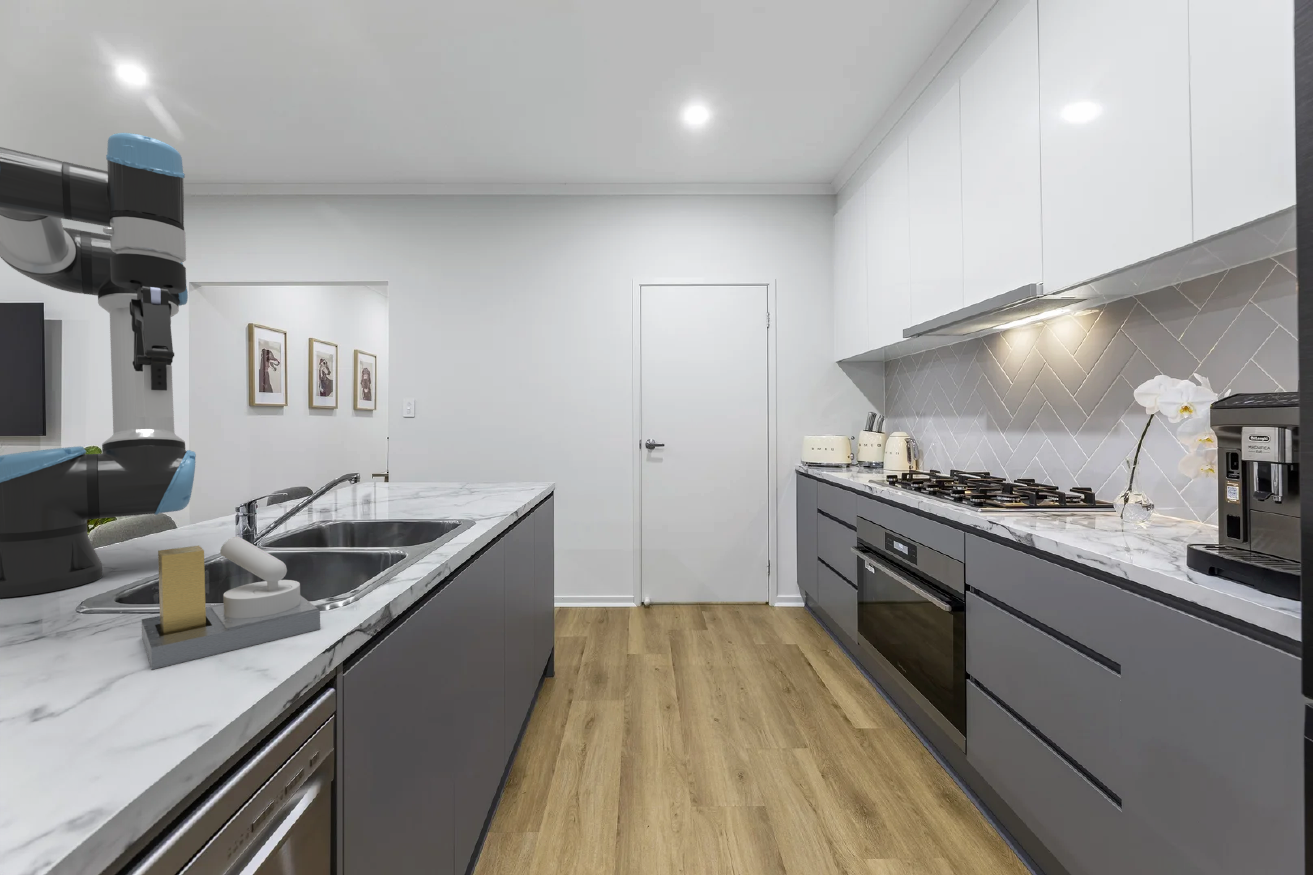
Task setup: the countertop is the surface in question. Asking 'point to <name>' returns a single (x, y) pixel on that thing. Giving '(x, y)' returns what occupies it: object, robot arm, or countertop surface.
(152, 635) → the block
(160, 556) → the yellow block
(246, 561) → the white tilted spotlight lamp
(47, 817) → the countertop surface
